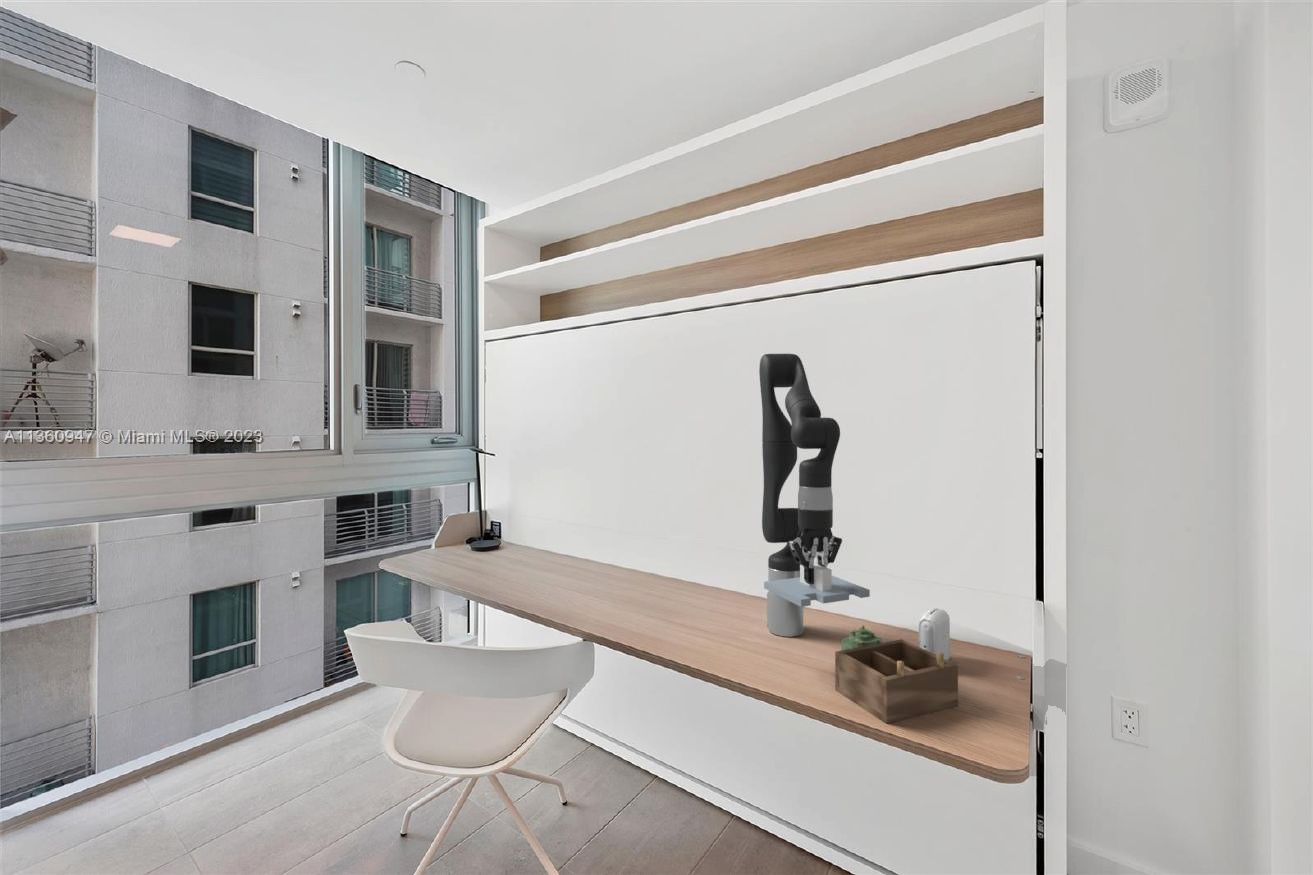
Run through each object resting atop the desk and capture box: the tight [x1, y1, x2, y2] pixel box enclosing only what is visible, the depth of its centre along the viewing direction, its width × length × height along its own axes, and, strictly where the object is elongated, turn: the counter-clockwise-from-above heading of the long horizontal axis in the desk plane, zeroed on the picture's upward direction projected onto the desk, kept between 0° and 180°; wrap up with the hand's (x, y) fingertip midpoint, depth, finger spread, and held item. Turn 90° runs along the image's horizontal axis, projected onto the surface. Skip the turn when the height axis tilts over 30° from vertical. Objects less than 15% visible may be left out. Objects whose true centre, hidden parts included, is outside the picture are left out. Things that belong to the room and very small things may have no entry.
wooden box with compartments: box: [834, 638, 959, 725], centre depth 108 cm, size 14×18×10 cm
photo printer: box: [918, 607, 951, 661], centre depth 124 cm, size 10×4×12 cm, turn 133°
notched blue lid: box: [763, 562, 871, 607], centre depth 120 cm, size 14×18×6 cm
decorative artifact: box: [841, 625, 883, 651], centre depth 129 cm, size 10×7×10 cm
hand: (815, 582), depth 120 cm, fingers closed on notched blue lid, 2 cm apart
